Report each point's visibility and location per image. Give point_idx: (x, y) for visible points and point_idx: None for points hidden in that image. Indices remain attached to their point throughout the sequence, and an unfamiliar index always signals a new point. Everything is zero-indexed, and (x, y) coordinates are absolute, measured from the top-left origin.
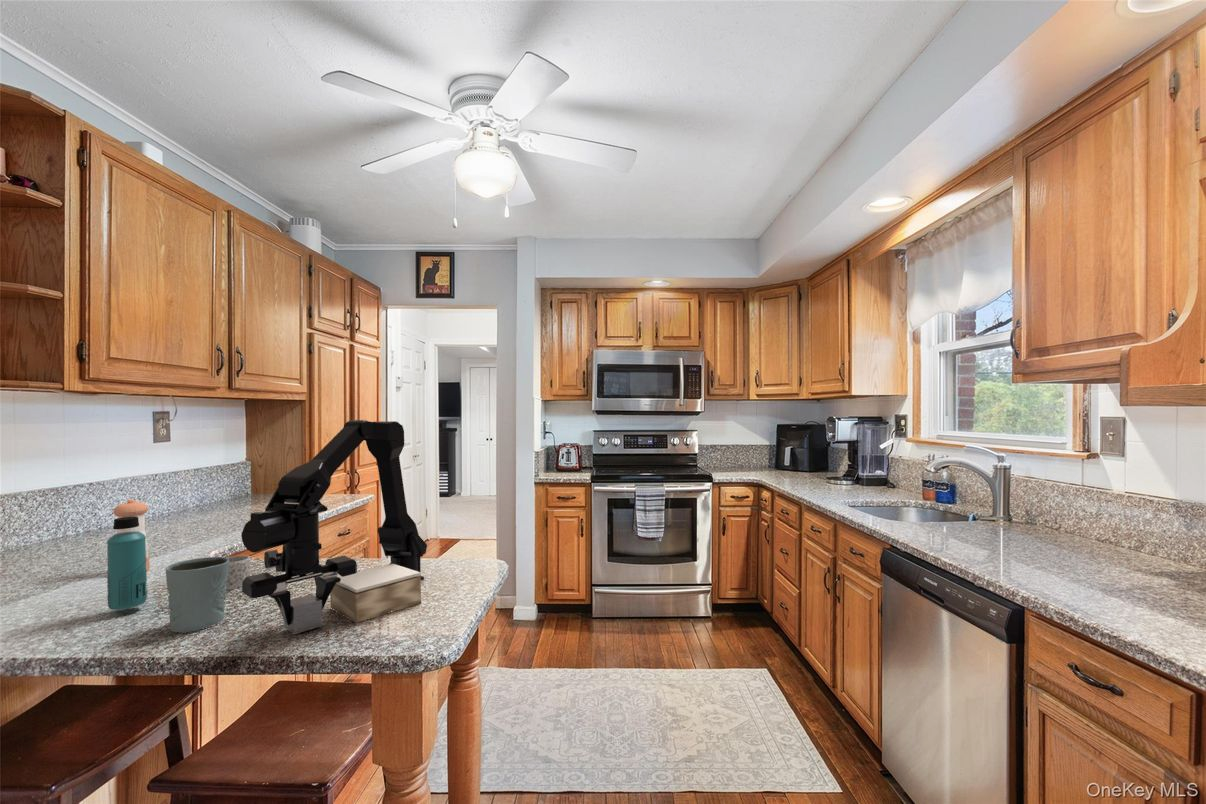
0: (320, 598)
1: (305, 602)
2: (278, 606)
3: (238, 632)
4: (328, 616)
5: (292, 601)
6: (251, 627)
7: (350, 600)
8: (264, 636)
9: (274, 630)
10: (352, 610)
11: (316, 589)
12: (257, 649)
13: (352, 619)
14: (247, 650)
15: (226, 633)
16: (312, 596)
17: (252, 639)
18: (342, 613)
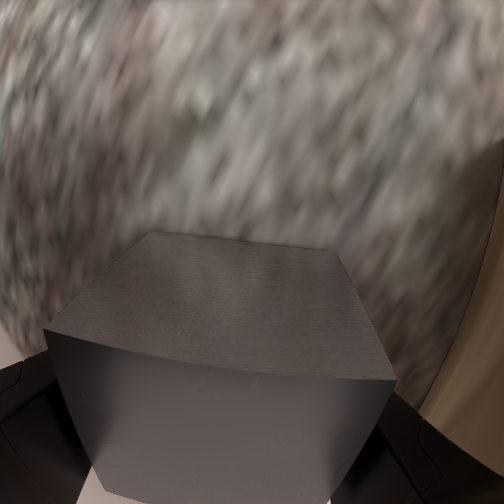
0: (341, 495)
1: (202, 498)
2: (14, 370)
3: (23, 47)
4: (440, 241)
5: (116, 414)
6: (79, 13)
7: (471, 451)
8: (66, 216)
9: (124, 169)
10: (442, 432)
11: (406, 492)
12: (32, 333)
13: (429, 398)
14: (7, 308)
15: (3, 26)
16: (338, 450)
17: (26, 205)
18: (476, 303)
